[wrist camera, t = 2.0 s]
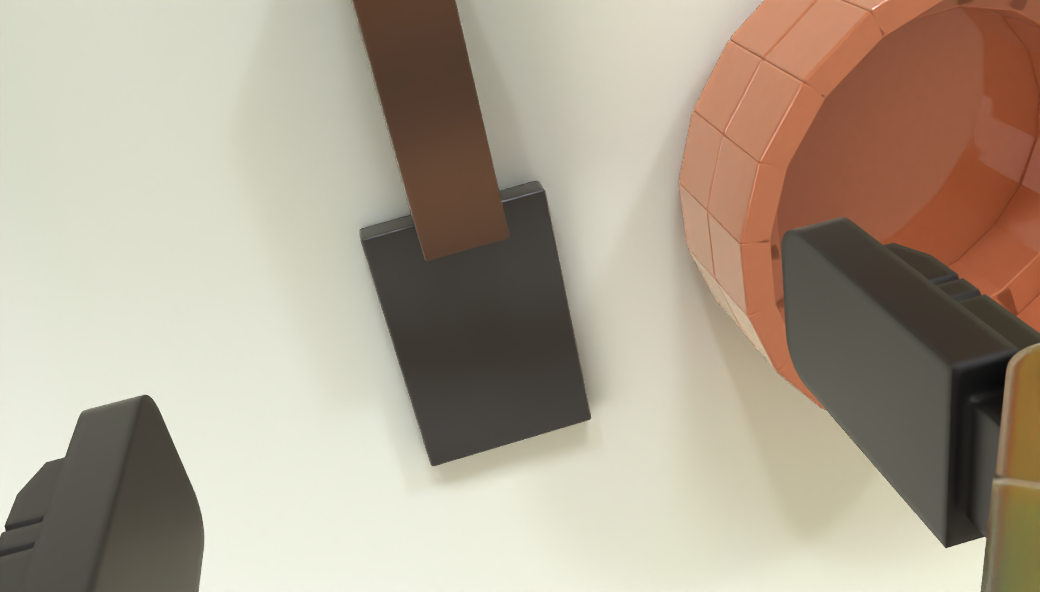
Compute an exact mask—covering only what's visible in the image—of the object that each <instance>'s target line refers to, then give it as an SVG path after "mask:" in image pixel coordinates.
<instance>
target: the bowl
mask: <svg viewBox="0 0 1040 592" xmlns="http://www.w3.org/2000/svg"><path fill="white" fill-rule="evenodd" d="M730 39H731V40H730V41H728V42H727V44H726V46H725V48H724V50H723V52H722V54H721V56H720V58H719V60H718V62H717V64H716V66H715V67H714V69H713V71H712V73H711V75H710V77H709V79H708V81H707V83H706V85H705V87H704V89H703V91H702V93H701V95H700V97H699V99H698V101H697V103H696V105H695V107H694V111H692V115H691V120H690V125H689V130H688V136H687V141H686V146H685V152H684V157H683V162H682V167H681V173H680V178H679V189H680V197H681V205H682V212H683V220H684V228H685V235H686V243H687V246H688V250H689V252H690V254H691V255H692V257H693V259H694V261H695V263H696V265H697V267H698V269H699V270H700V272H701V274H702V276H703V278H704V280H705V282H706V284H707V285H708V287H709V289H710V291H711V293H712V295H713V297H714V298H715V299H716V300H717V302H718V303H719V304H720V305H721V306H722V308H723V309H724V310H725V311H726V312H727V314H728V315H729V316H730V317H731V318H732V319H733V321H734V322H735V323H736V324H737V325H738V327H739V328H740V329H741V330H742V331H743V332H744V333H745V335H746V336H747V337H748V339H749V340H750V341H751V342H752V343H753V345H754V346H755V347H756V348H757V349H758V350H759V352H760V353H761V354H762V355H763V356H764V358H765V359H766V360H767V361H768V362H769V364H770V365H771V366H772V367H773V368H774V369H775V371H776V372H777V373H778V374H779V375H781V376H782V377H783V378H784V379H786V380H787V381H788V382H789V383H791V384H792V385H793V386H794V387H795V388H797V389H798V390H799V391H800V392H802V393H803V394H804V395H805V396H806V397H808V398H809V399H810V400H811V401H813V402H814V403H815V404H816V405H818V406H819V407H820V408H822V409H824V410H826V409H825V408H824V407H823V406H822V404H821V403H820V402H819V401H818V400H817V399H816V398H815V396H814V395H813V394H812V393H811V392H810V391H809V389H808V388H807V387H806V386H805V385H804V383H803V382H802V381H801V379H800V378H799V376H798V374H797V372H796V370H795V368H794V365H793V363H792V360H791V357H790V354H789V350H788V345H787V339H786V326H785V309H784V292H783V275H782V258H781V243H782V238H783V236H784V234H785V232H787V231H788V230H792V229H796V228H800V227H804V226H808V225H811V224H815V223H819V222H823V221H827V220H831V219H835V218H839V217H846V218H848V219H850V220H851V221H852V222H854V223H855V224H856V225H858V226H859V227H860V228H862V229H863V230H864V231H866V232H867V233H868V234H869V235H871V236H872V237H873V238H875V239H876V240H877V241H879V242H880V243H881V244H883V245H886V244H890V243H896V244H899V245H902V246H905V247H908V248H911V249H914V250H917V251H921V252H924V253H927V254H930V255H932V256H933V257H935V258H936V259H938V260H939V261H940V262H942V263H943V264H945V265H946V266H947V267H949V268H950V269H951V270H953V271H954V272H956V273H957V274H958V277H959V279H961V278H964V279H965V280H967V281H968V282H970V283H971V284H972V285H974V286H975V287H976V288H978V289H979V290H980V293H981V295H983V294H986V295H988V296H989V297H990V298H992V299H993V300H994V301H996V302H997V303H999V304H1000V305H1001V306H1003V307H1004V308H1006V309H1007V310H1008V311H1010V312H1011V313H1013V314H1014V315H1015V316H1017V317H1018V318H1019V319H1021V320H1022V321H1024V322H1025V323H1026V324H1028V325H1029V326H1031V327H1032V328H1033V329H1035V330H1036V331H1037V332H1039V333H1040V0H764V1H763V2H762V3H761V5H760V6H759V7H758V8H757V9H756V10H755V11H754V12H753V13H752V14H751V16H750V17H749V18H748V19H747V20H746V21H745V22H744V23H743V24H742V25H741V27H740V28H739V29H738V30H737V31H736V32H735V33H734V34H733V35H732V36H731V38H730Z"/></svg>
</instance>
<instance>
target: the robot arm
mask: <svg viewBox="0 0 1040 592" xmlns="http://www.w3.org/2000/svg"><path fill="white" fill-rule="evenodd" d="M781 258H782V275H783V292H784V309H785V326H786V339H787V345H788V350H789V354H790V357H791V360H792V363H793V365H794V368H795V370H796V372H797V374H798V376H799V378H800V379H801V381H802V382H803V383H804V385H805V386H806V387H807V388H808V389H809V391H810V392H811V393H812V394H813V395H814V396H815V398H816V399H817V400H818V401H819V402H820V403H821V404H822V406H823V407H824V408H825V409H826V410H827V411H828V413H829V414H830V415H831V416H832V417H833V418H834V419H835V421H836V422H837V423H838V424H839V425H840V426H841V428H842V429H843V430H844V431H845V432H846V433H847V435H848V436H849V437H850V438H851V439H852V440H853V441H854V443H855V444H856V445H857V446H858V447H859V448H860V450H861V451H862V452H863V453H864V454H865V455H866V456H867V458H868V459H869V460H870V461H871V462H872V463H873V465H874V466H875V467H876V468H877V469H878V470H879V472H880V473H881V474H882V475H883V476H884V477H885V478H886V480H887V481H888V482H889V483H890V484H891V485H892V487H893V488H894V489H895V490H896V491H897V492H898V493H899V495H900V496H901V497H902V498H903V499H904V500H905V502H906V503H907V504H908V505H909V506H910V507H911V509H912V510H913V511H914V512H915V513H916V514H917V515H918V517H919V518H920V519H921V520H922V521H923V522H924V524H925V525H926V526H927V527H928V528H929V529H930V530H931V532H932V533H933V534H934V535H935V536H936V537H937V539H938V540H939V541H940V542H941V543H942V544H943V546H944V547H945V548H948V547H951V546H955V545H958V544H961V543H965V542H968V541H972V540H975V539H978V538H982V537H986V548H985V557H984V566H983V576H982V585H981V592H1040V333H1039V332H1037V331H1036V330H1035V329H1033V328H1032V327H1031V326H1029V325H1028V324H1026V323H1025V322H1024V321H1022V320H1021V319H1019V318H1018V317H1017V316H1015V315H1014V314H1013V313H1011V312H1010V311H1008V310H1007V309H1006V308H1004V307H1003V306H1001V305H1000V304H999V303H997V302H996V301H994V300H993V299H992V298H990V297H989V296H988V295H986V294H983V295H981V293H980V290H979V289H978V288H976V287H975V286H974V285H972V284H971V283H970V282H968V281H967V280H965V279H964V278H961V279H959V277H958V274H957V273H956V272H954V271H953V270H951V269H950V268H949V267H947V266H946V265H945V264H943V263H942V262H940V261H939V260H938V259H936V258H935V257H933V256H932V255H930V254H927V253H924V252H921V251H917V250H914V249H911V248H908V247H905V246H902V245H899V244H896V243H890V244H886V245H883V244H881V243H880V242H879V241H877V240H876V239H875V238H873V237H872V236H871V235H869V234H868V233H867V232H866V231H864V230H863V229H862V228H860V227H859V226H858V225H856V224H855V223H854V222H852V221H851V220H850V219H848V218H846V217H839V218H835V219H831V220H827V221H823V222H819V223H815V224H811V225H808V226H804V227H800V228H796V229H792V230H788V231H787V232H785V234H784V236H783V238H782V243H781ZM5 529H6V532H3V533H2V534H1V536H0V592H198V591H199V583H200V575H201V566H202V558H203V550H204V528H203V521H202V515H201V511H200V507H199V503H198V500H197V497H196V495H195V492H194V490H193V487H192V485H191V483H190V480H189V478H188V476H187V473H186V471H185V469H184V466H183V464H182V462H181V460H180V457H179V455H178V453H177V450H176V448H175V446H174V443H173V441H172V439H171V436H170V434H169V432H168V429H167V427H166V425H165V422H164V420H163V418H162V415H161V413H160V411H159V409H158V407H157V405H156V403H155V402H154V401H153V399H152V398H151V397H150V396H148V395H142V396H138V397H134V398H130V399H126V400H122V401H119V402H115V403H111V404H107V405H103V406H99V407H95V408H91V409H88V410H84V411H83V412H82V413H81V414H80V416H79V418H78V421H77V424H76V427H75V430H74V433H73V436H72V438H71V441H70V444H69V447H68V450H67V453H66V456H65V458H61V459H57V460H54V461H50V462H46V463H45V464H44V465H43V467H42V468H41V469H40V470H39V471H38V472H37V473H36V474H35V475H34V477H33V478H32V479H31V480H30V481H29V482H28V483H27V484H26V485H25V487H24V488H23V489H22V490H21V491H20V492H19V493H18V494H17V496H16V499H15V501H14V504H13V506H12V509H11V511H10V514H9V516H8V519H7V521H6V524H5Z"/></svg>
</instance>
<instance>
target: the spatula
mask: <svg viewBox="0 0 1040 592" xmlns="http://www.w3.org/2000/svg"><path fill="white" fill-rule="evenodd" d="M351 2H352V5H353V9H354V12H355V16H356V20H357V23H358V27H359V30H360V34H361V37H362V41H363V45H364V48H365V52H366V55H367V59H368V62H369V66H370V69H371V73H372V77H373V80H374V84H375V87H376V91H377V94H378V98H379V102H380V105H381V109H382V112H383V116H384V119H385V123H386V127H387V130H388V134H389V137H390V141H391V144H392V148H393V152H394V155H395V159H396V162H397V166H398V169H399V173H400V177H401V180H402V184H403V187H404V191H405V194H406V198H407V201H408V205H409V209H410V212H411V215H410V216H406V217H403V218H399V219H395V220H392V221H388V222H385V223H381V224H377V225H374V226H370V227H366V228H363V229H361V230H360V232H359V233H360V238H361V243H362V246H363V249H364V253H365V256H366V259H367V262H368V265H369V269H370V272H371V275H372V278H373V281H374V285H375V288H376V291H377V294H378V297H379V301H380V304H381V307H382V310H383V313H384V317H385V320H386V323H387V326H388V329H389V333H390V336H391V339H392V342H393V345H394V349H395V352H396V355H397V358H398V361H399V365H400V368H401V371H402V374H403V377H404V381H405V384H406V387H407V390H408V393H409V397H410V400H411V403H412V406H413V409H414V413H415V416H416V419H417V422H418V425H419V429H420V432H421V435H422V438H423V441H424V445H425V448H426V451H427V454H428V457H429V461H430V464H431V465H432V466H436V465H440V464H443V463H446V462H450V461H453V460H456V459H460V458H463V457H467V456H470V455H473V454H477V453H480V452H483V451H487V450H490V449H493V448H497V447H500V446H503V445H507V444H510V443H513V442H517V441H520V440H524V439H527V438H530V437H534V436H537V435H540V434H544V433H547V432H550V431H554V430H557V429H560V428H564V427H567V426H571V425H574V424H577V423H581V422H584V421H587V420H590V419H591V414H590V409H589V404H588V399H587V394H586V389H585V384H584V379H583V374H582V370H581V365H580V360H579V355H578V350H577V345H576V340H575V335H574V330H573V325H572V321H571V316H570V311H569V306H568V301H567V296H566V291H565V286H564V281H563V276H562V271H561V267H560V262H559V257H558V252H557V247H556V242H555V237H554V232H553V227H552V222H551V218H550V213H549V208H548V203H547V198H546V193H545V190H544V189H543V187H542V185H541V184H540V182H539V181H534V182H531V183H527V184H523V185H520V186H516V187H512V188H509V189H505V190H501V191H499V189H498V184H497V180H496V175H495V171H494V167H493V162H492V158H491V154H490V149H489V145H488V140H487V136H486V132H485V127H484V123H483V119H482V114H481V110H480V106H479V101H478V97H477V92H476V88H475V84H474V79H473V75H472V71H471V66H470V62H469V57H468V53H467V49H466V44H465V40H464V36H463V31H462V27H461V23H460V18H459V14H458V9H457V5H456V1H455V0H351Z"/></svg>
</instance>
